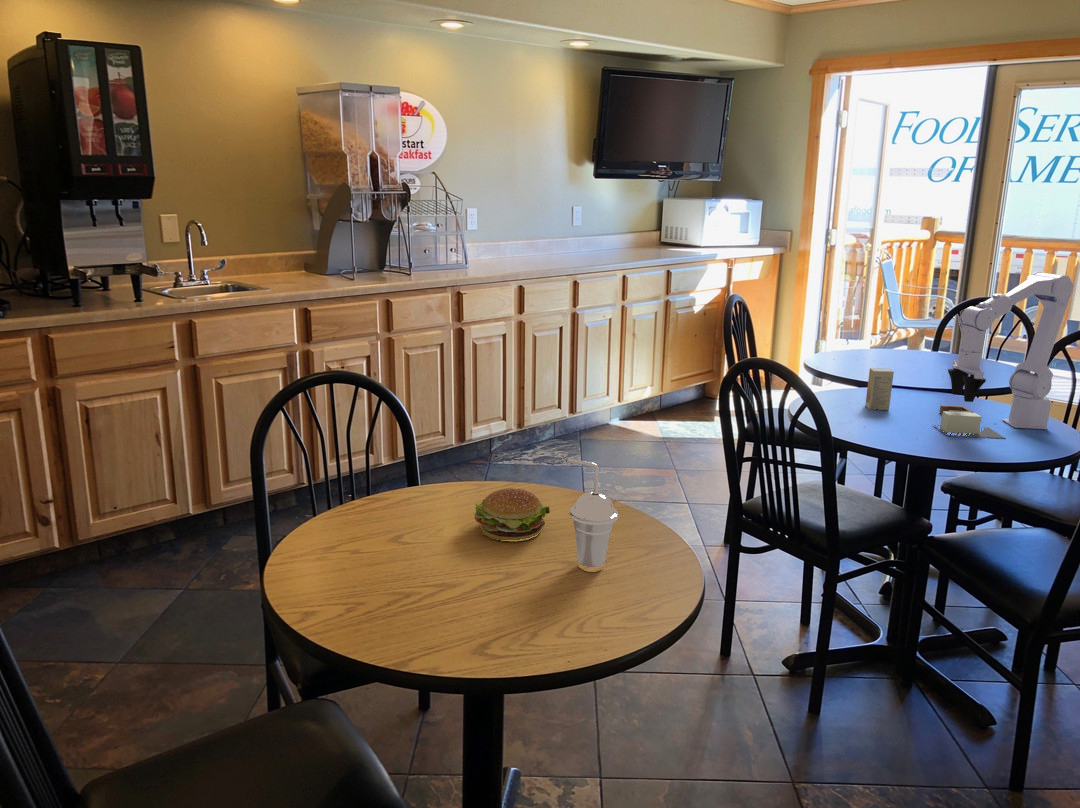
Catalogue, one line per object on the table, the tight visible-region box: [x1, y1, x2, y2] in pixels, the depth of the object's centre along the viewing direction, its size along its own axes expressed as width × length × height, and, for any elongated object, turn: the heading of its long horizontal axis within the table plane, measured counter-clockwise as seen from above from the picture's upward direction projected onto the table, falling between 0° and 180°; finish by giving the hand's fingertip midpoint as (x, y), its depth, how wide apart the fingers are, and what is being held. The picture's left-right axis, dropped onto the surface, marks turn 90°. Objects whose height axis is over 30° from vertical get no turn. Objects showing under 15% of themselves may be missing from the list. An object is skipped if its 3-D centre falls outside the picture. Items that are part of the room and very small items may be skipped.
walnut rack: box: [939, 404, 975, 414], centre depth 251 cm, size 7×7×2 cm
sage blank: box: [939, 411, 982, 434], centre depth 235 cm, size 9×4×5 cm, turn 88°
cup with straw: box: [565, 457, 619, 567], centre depth 144 cm, size 8×9×20 cm
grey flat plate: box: [933, 424, 1006, 440], centre depth 236 cm, size 16×10×1 cm, turn 88°
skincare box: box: [864, 367, 895, 411], centre depth 256 cm, size 6×4×12 cm
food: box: [474, 487, 551, 541], centre depth 159 cm, size 14×14×8 cm
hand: (962, 397), depth 235 cm, fingers open, 7 cm apart
